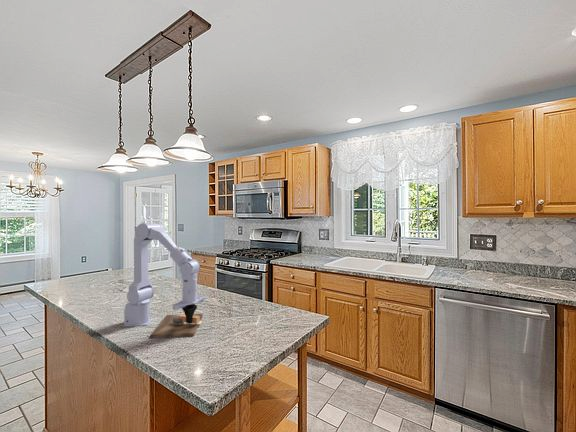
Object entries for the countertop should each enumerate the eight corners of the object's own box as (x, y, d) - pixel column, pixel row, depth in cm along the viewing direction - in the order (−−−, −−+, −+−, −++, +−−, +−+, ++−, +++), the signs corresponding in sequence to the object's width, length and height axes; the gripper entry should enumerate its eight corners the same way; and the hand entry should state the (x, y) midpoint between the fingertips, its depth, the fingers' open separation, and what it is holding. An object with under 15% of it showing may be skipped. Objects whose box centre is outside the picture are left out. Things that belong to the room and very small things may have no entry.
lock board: (150, 338, 108) (150, 332, 108) (166, 317, 129) (166, 313, 129) (196, 335, 110) (196, 330, 110) (204, 316, 132) (204, 311, 132)
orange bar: (169, 322, 118) (170, 316, 118) (177, 317, 123) (177, 312, 123) (194, 325, 115) (194, 319, 115) (201, 320, 120) (201, 314, 120)
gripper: (181, 295, 108) (180, 330, 108) (209, 287, 120) (209, 319, 120) (169, 292, 112) (168, 326, 112) (198, 285, 124) (198, 316, 124)
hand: (189, 322), depth 116 cm, fingers closed, pressing on orange bar
